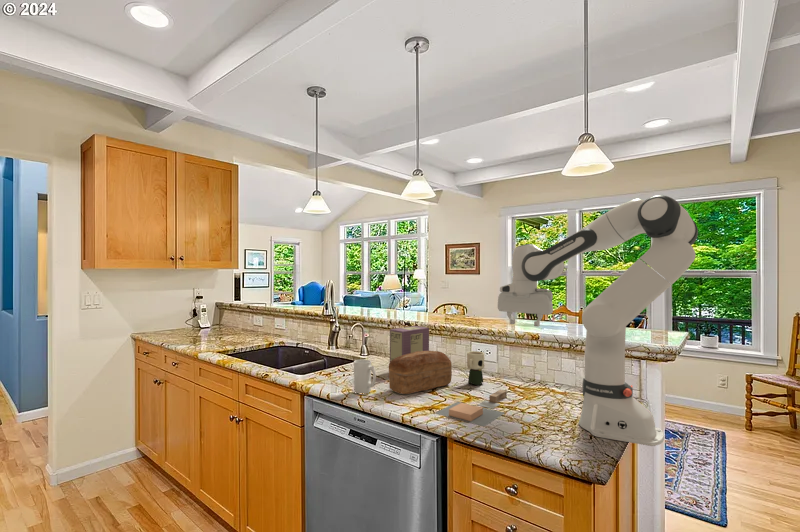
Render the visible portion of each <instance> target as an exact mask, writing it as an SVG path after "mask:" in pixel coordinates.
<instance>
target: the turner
mask: <svg viewBox="0 0 800 532" xmlns="http://www.w3.org/2000/svg"><path fill="white" fill-rule="evenodd" d="M488 397H489V399H488V400H484V401H482V402H480V403H478V404H477V406H478V407H483V408H487V409H491V410H495V408H498V407H499V406H500V405H501V403H499V402H501V401H502V400H505V399H507V398H508V397H507V390H504V389H499V390H497V391H495V392H493V393H491V394H490V395H489V396H488Z"/></svg>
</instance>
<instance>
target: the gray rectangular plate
mask: <svg viewBox="0 0 800 532" xmlns="http://www.w3.org/2000/svg"><path fill="white" fill-rule="evenodd" d="M460 403H464V404H468V405H472V406H475V405H473V404H470V403H465V402H461V401H457V402H454V403H452V404H451V405H448V406H446V407H444V408H442V409H440V410H438V411H435V412H434V414H436V415H440V416H443V417H447V418H451V419H454V420H458V421H462V422H465V423H469V424H473V425H476V426H480V427H486V426H488V425H489V424H491V423H492V422H494V421H495V420H497V419H498V418H500V417H501V416H503V415H505V414H506V412H504V411H498V410H495V409H491V408H486V407H482V406H480V407H481V408H483V414H482V415H481V416H479V417H477V418H475V419H474V420H472V421H468V420H464V419H460V418H456V417H453V416H449V409H450V408H452V407H454V406H456V405H458V404H460ZM476 406H477V407H479V406H478V405H476Z"/></svg>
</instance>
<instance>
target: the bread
mask: <svg viewBox="0 0 800 532" xmlns="http://www.w3.org/2000/svg"><path fill="white" fill-rule="evenodd" d="M452 369H453V368H452V361H451V359H450V358H449V356H447V355H446V354H445V353H444V352H442V351H439V350H429V351H416V352H413V353H409V354H405V355H402V356H399V357H396V358H394V359H393V360H392V361H391V362H390V361H389V363H388V383H389V389H390V390H391V391H393V392H394V393H396V394H401V395H410V394H414V393H416V392H422V391H427V390H432V389H435V388H438V387H439V388H440V387H444V386H447V385H449V384H451V382H452V377H453V371H452Z"/></svg>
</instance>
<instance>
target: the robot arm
mask: <svg viewBox="0 0 800 532" xmlns="http://www.w3.org/2000/svg"><path fill="white" fill-rule="evenodd" d="M641 234H646V235H647V237H649V238H651V239H652V244H651V246H650V247H649V249H648V250H647V251H645V253H643V255H641V256H640V257H639V258H638V259H637V260H636V261H634V262H633V264H631V265H630V266H629V267H628V268H627V269H626V270H625V271H624V272H623V273H622V274H621V275H619V277H618V278H617V279H615V280H614V281H613V282H612V283H611V284H609V286H608V287H606V288H605V289H604V290H603V291H602V292H601V293H600V294H599V295H598V296H596V297H595V299H593V300H592V301H591V302H590V303H588V305H587V306H586V307H585V308H584V309H583V312H582V316H581V321H582V325H583V328H584V329H585V331H586V333H585V334H586V335H585V346H584V347H585V348H584V377H583V378H582V397H583V401H582V408H581V414H580V417H579V420H578V426H579V427H581V428H582V429H584V430H586V431H588V432H589V433H590V434H591V435H592V436H594V437H597V438H602V439H608V440H615V441H619V442H620V441H621V442H625V443H631V444H637V445H643V446H649V447H656V446H659V445H661V444H662V443H663V442H664V440H665V432H664V431H663V430H662V429H661V428H660V427H656V422H655V418H654V416H653V413H652V412H651V411H650V410H649V409H648V408H647V407H646V406H644V405H643V404H642V403H641V402H640V401H639V400H637V399H636V398H634V397H633V394H634V393H633V390H634V389H633V387H634V386H633V384H631V385H629V384H628V383H627V382H626V367H625V365H626V330H627V329H626V328H627V326H628V325H629V324H630V323H631V322H633V320H634V319H636V317H638V316H639V315H640V314H641V313H642V312H643V311H644V310H645V309H646V308H647V307H648V306H649V305H651V304H652V303H653V302H654V301H655V300H656V299H657V298H658V297H660V296H661V295H662V294H663V293H664V292H666V291H667V289H669V288H670V287H671V286H672V285H673V284H674V283H675V282H676V281H677V280H679V278H681V277H682V276H683V274H684V273H685V272H686V271H687V270H688V269H689V268H690V267H691V265H692V263H694V261H695V260H696V251H695V249H694V247H693V245H694V244H695V242H696V241H697V239H698V235H699V229H698V225H697V223H696V222H695V221H694V220H693V218H692V217H691V216H690V213H689V212H688V211H687V210H686V209H685V208H684V207H683V206H682V205H680V204H679V202H678V201H677V200H676V199H674V198H673V197H670V196H667V195H663V194H659V195H658V194H656V195H653V196H650V197H648V198H647V199H645V200H644V199H641V198H635V199H634V198H633V199H632V200H629V201H626V202H624V203H622V204H619V205H617V206H615V207H613V208H612V209H610V210H608V211H607V212H605V213H603V214H602V215H600V216H599V217H597V218H596V219H595V220H593V221H592V222H590V223H589V224H587V225H585V226H584V227H582V228H581V229H580V230H578V231H577V232H575V233H574V234H572V235H570V236H568V237H566V238H565V239H563V240H561V241H559V242H558V243H555V244H553V245H552V246H550V247H548V248H546V249H541V248H539V247H537V245H535V244H533V243H526V244H520V245H518V246H516V247H515V248H514V251H513V253H512V263H511V264H512V266H511V268H512V273H513V275H512V278H511V280H512V281H511V283H508V284H505V285H502V286H500V287H499V291H500V293H499V294H498V296H497V309H498V311H499V312H506V316H507V318H508V319H509V324H510V325H515V324H516V318H513V313H518V314H519V313H520V314H532V315H536V317H537V320H534V322H533V323H534V324H533V326H534V327H540V323H541V320H542V319H543V317H544V315H545V316H547V315H548V316H549V315H551V314H553V312H554V308H553V307H554V306H553V298H554V295H553V292H552V290H550V289H549V288H538V282H541V281H549V280H554V279H557V278H559V277H561V275H563V273H564V269H565V263H564V262H566V261H569V260H570V259H571V258H573V257H575V256H578V255H580V254H583V253H588V252H596V251H597V252H598V251H607V250H609V249H612V248H614V247H618V246H620V245H621V244H624V243H625V242H627V241H629V240H631V239H633V238H634V237H635V236H638V235H641Z"/></svg>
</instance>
